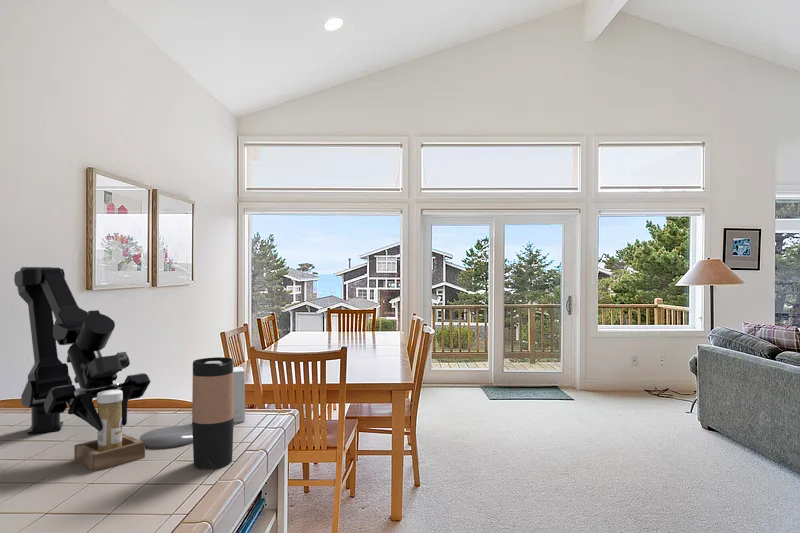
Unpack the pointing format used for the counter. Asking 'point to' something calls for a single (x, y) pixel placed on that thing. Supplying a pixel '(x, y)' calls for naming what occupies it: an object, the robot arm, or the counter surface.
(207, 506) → the counter surface
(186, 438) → the slate plate
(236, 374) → the supplement box
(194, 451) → the travel mug
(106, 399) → the sprinkles bottle
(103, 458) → the walnut socket
